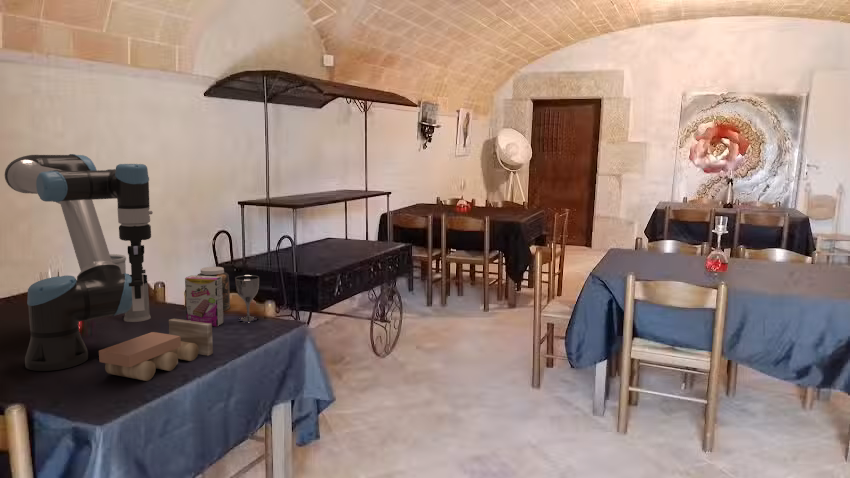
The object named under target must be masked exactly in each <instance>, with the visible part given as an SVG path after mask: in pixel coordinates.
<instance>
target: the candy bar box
mask: <svg viewBox="0 0 850 478" xmlns="http://www.w3.org/2000/svg"><path fill="white" fill-rule="evenodd" d="M197 275H198V274H196V275H189V276H186V277H185V278H184V285H185V287H184V288H185V289H184V290H185V313H186V316H185V317H186V320H189V321H196V322H203V323H210V324H212V327H220V326H221V325H222V324H223V323H224V311H223V291H222V277H218V276H197ZM219 325H220V326H219Z"/></svg>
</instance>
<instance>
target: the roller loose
mask: <svg viewBox="0 0 850 478" xmlns="http://www.w3.org/2000/svg"><path fill="white" fill-rule="evenodd" d="M198 351H199V349H198V346H197V344H195V343H190V342H183V341H181V347H179V348H176V349H174V350H171V351H170V352H175V353H176V354H177V357H178V360H181V361H182V360H183V361H188V362H191V361H194V360H196V359H197V357H198V355H199V354H198Z"/></svg>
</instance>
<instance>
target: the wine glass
mask: <svg viewBox="0 0 850 478" xmlns="http://www.w3.org/2000/svg"><path fill="white" fill-rule="evenodd" d="M234 279H235V290H236V293H237V295H238V296H239V297H240V299H242V300H243V301H244V303H245V306H246V307H245V308H246V316H244V318H243V317H240V318H241V320H243V321H251V320H253V319H254V317H255V316H251V315H250V308H251V307H250V306H251V302H252V301H253V299H254V298H255V297H256V296H257V294H258V292H259V289H260V288H259V287H260V276H258V275H254V274H251V275H250V274H245V275H237V276H235V277H234Z"/></svg>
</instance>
